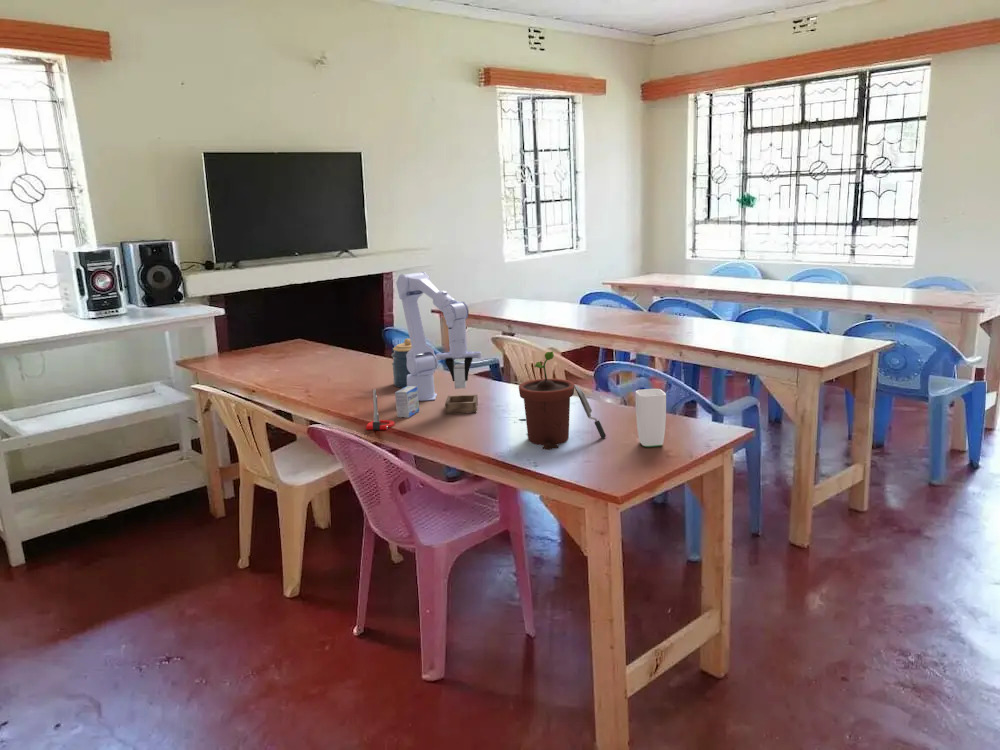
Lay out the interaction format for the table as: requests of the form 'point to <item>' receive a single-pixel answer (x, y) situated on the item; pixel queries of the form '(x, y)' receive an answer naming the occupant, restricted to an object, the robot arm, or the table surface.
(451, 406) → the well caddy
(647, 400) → the cup
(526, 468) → the table surface
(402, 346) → the canister
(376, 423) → the tow hook
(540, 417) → the potted plant
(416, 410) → the medicine box
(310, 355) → the table surface
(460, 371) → the grey two-tone block
